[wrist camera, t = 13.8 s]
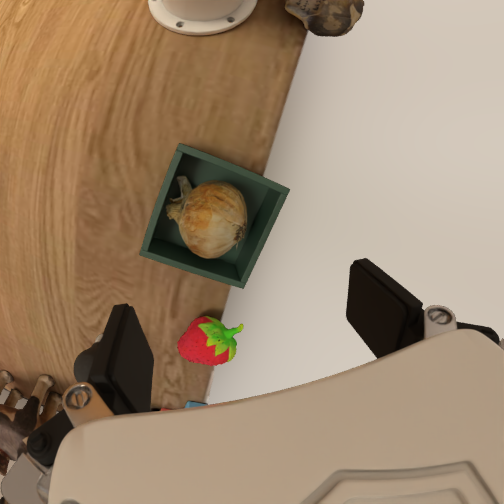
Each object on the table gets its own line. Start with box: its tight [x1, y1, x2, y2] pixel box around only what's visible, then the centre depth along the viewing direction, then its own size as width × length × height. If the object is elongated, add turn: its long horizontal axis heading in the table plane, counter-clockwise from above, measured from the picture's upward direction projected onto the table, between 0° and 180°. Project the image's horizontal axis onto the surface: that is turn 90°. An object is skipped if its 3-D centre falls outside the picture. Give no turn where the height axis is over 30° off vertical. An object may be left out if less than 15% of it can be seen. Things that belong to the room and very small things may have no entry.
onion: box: [166, 176, 247, 259], centre depth 27 cm, size 8×8×8 cm
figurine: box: [0, 371, 62, 504], centre depth 20 cm, size 10×23×30 cm, turn 95°
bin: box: [139, 143, 290, 289], centre depth 28 cm, size 11×11×5 cm
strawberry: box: [177, 316, 243, 366], centre depth 33 cm, size 6×7×10 cm
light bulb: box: [74, 334, 103, 383], centre depth 29 cm, size 6×6×10 cm
